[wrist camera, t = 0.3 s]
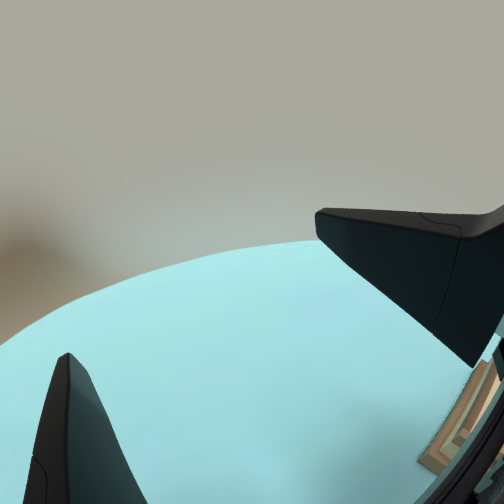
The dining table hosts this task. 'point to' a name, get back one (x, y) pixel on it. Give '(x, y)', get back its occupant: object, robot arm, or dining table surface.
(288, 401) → the dining table surface
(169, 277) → the dining table surface
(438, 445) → the pedestal
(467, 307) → the robot arm
